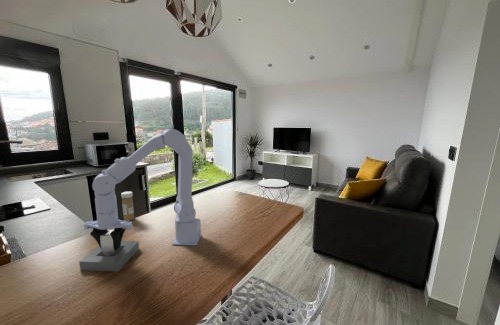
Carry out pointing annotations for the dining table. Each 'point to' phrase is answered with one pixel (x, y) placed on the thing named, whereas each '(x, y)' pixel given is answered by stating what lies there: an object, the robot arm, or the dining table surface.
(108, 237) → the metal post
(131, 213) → the sprinkles bottle
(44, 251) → the dining table surface
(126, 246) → the frame
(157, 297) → the dining table surface
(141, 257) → the dining table surface
